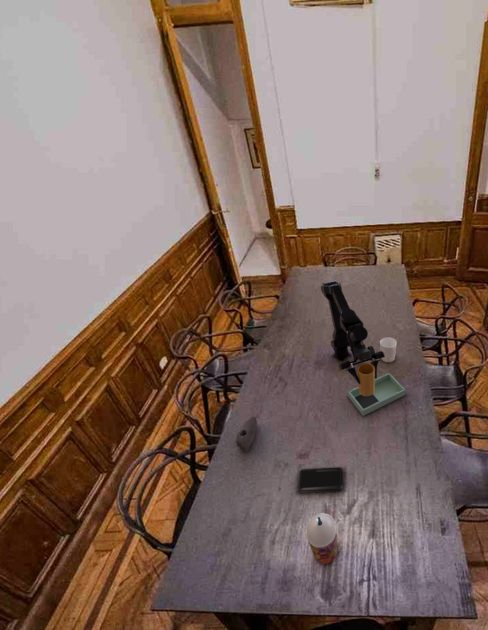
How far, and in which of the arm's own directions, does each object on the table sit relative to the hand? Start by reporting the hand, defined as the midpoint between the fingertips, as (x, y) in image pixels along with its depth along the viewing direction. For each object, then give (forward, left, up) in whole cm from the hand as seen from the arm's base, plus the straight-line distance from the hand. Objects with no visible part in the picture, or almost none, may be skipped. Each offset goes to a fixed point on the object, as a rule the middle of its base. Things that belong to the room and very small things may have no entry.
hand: (367, 381), depth 138 cm
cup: (-1, +1, -6) cm, 7 cm away
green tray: (+1, +5, -13) cm, 14 cm away
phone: (+8, -37, -13) cm, 40 cm away
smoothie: (+24, -52, -13) cm, 59 cm away
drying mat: (-1, +1, -12) cm, 13 cm away
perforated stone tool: (-26, -42, -13) cm, 51 cm away
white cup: (-9, +29, -13) cm, 33 cm away
